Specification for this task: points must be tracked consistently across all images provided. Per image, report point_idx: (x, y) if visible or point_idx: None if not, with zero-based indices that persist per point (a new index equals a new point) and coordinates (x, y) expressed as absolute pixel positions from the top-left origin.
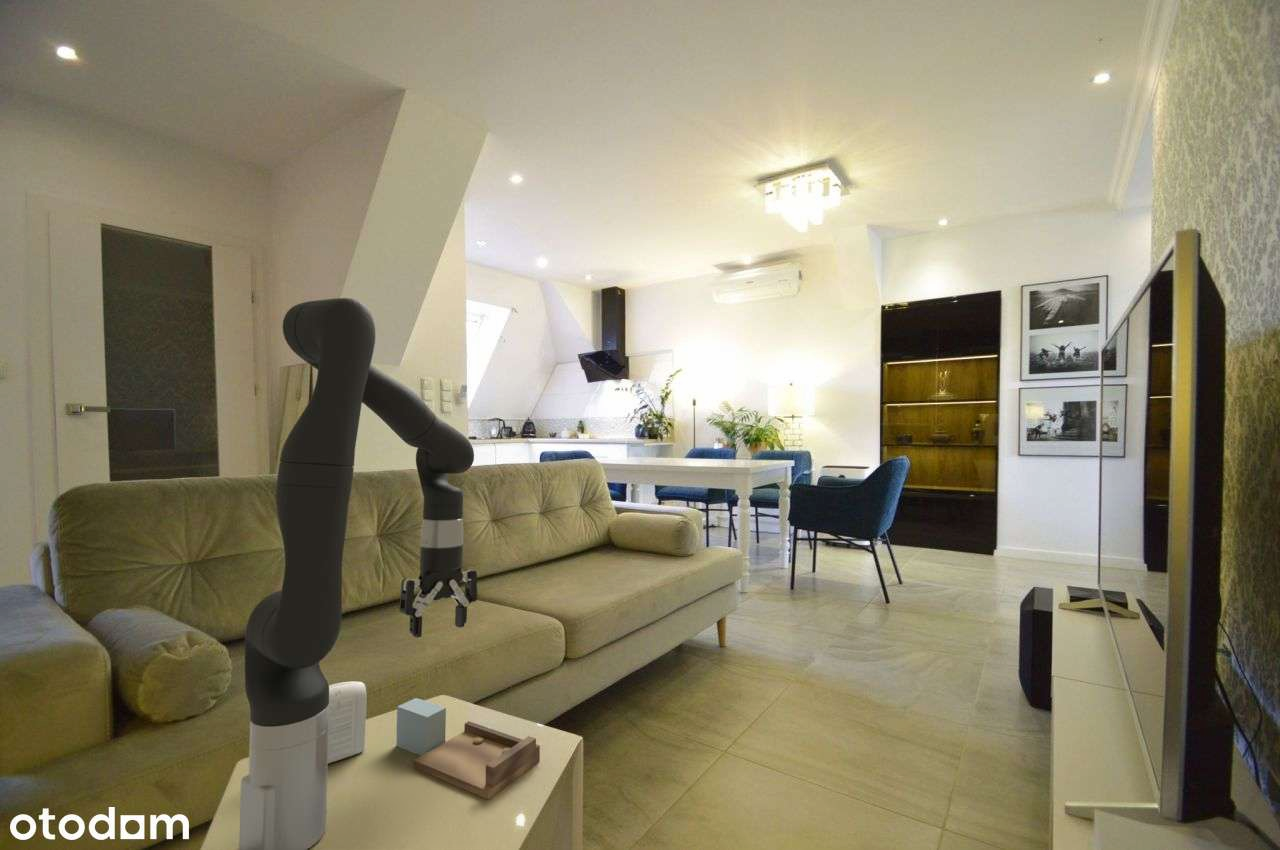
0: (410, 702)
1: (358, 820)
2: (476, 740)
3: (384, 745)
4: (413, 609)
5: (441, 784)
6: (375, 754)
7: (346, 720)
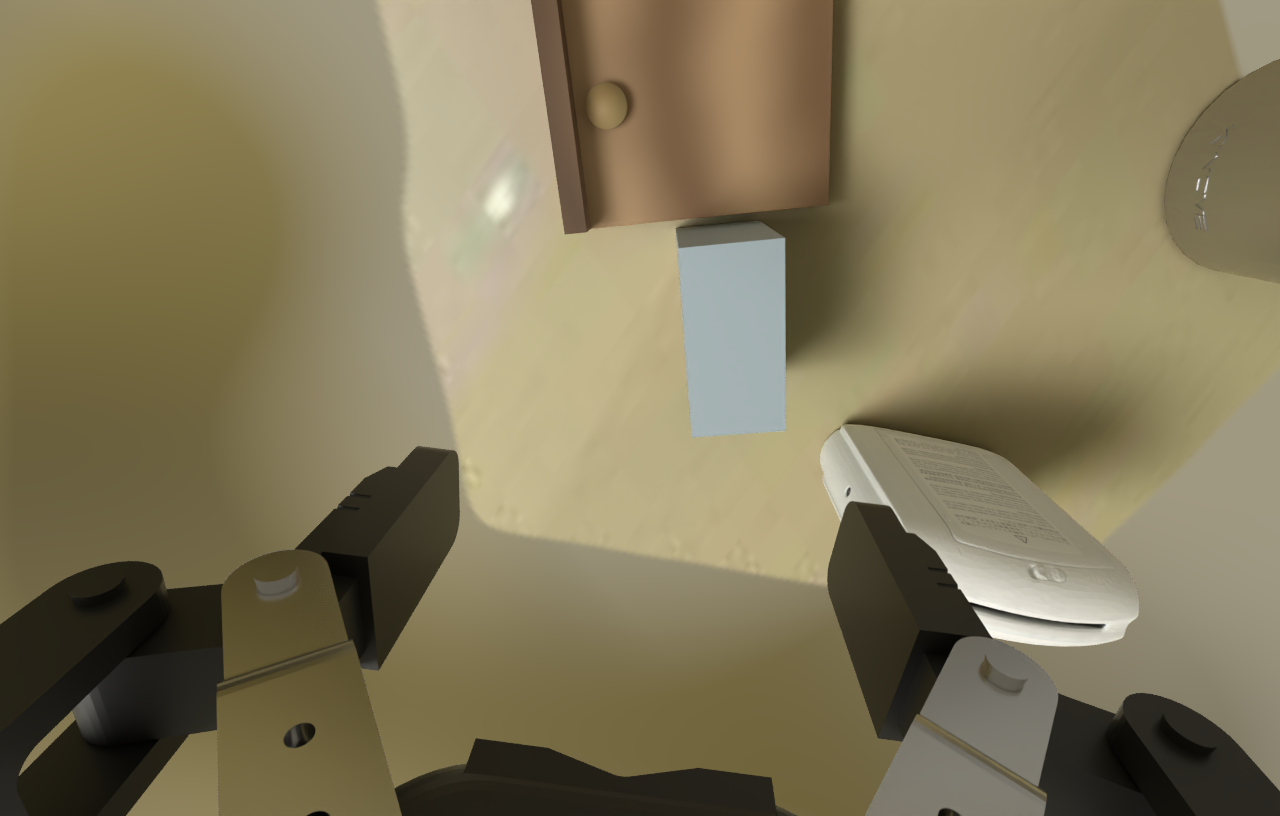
0: (732, 419)
1: (1125, 67)
2: (615, 106)
3: None
4: (1075, 760)
5: (847, 8)
6: (830, 382)
7: (951, 488)
